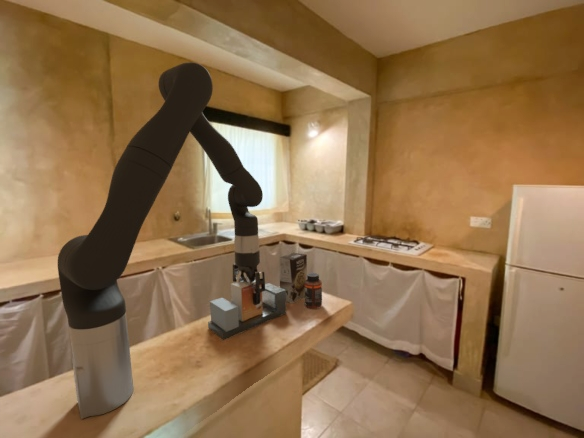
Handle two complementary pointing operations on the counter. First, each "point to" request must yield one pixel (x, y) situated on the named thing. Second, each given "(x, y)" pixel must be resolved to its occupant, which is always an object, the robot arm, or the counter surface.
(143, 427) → the counter surface
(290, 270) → the coffee box
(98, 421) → the counter surface
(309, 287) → the supplement bottle
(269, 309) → the vise bed
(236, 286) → the small box
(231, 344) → the counter surface
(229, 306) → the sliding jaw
